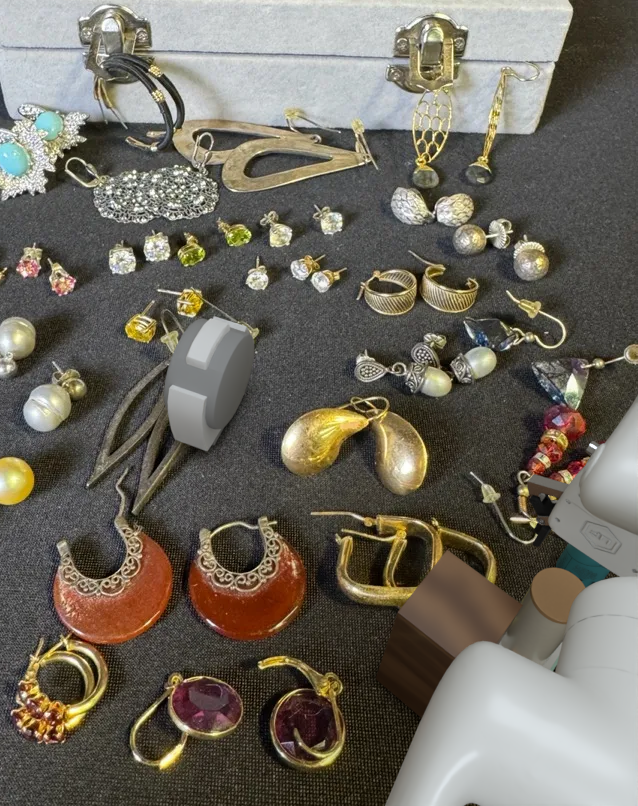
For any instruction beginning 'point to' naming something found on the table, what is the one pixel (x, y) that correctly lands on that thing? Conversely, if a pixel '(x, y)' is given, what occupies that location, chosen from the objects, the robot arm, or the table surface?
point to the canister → (543, 615)
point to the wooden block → (441, 628)
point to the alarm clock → (207, 379)
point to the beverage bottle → (581, 566)
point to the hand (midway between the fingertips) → (581, 564)
